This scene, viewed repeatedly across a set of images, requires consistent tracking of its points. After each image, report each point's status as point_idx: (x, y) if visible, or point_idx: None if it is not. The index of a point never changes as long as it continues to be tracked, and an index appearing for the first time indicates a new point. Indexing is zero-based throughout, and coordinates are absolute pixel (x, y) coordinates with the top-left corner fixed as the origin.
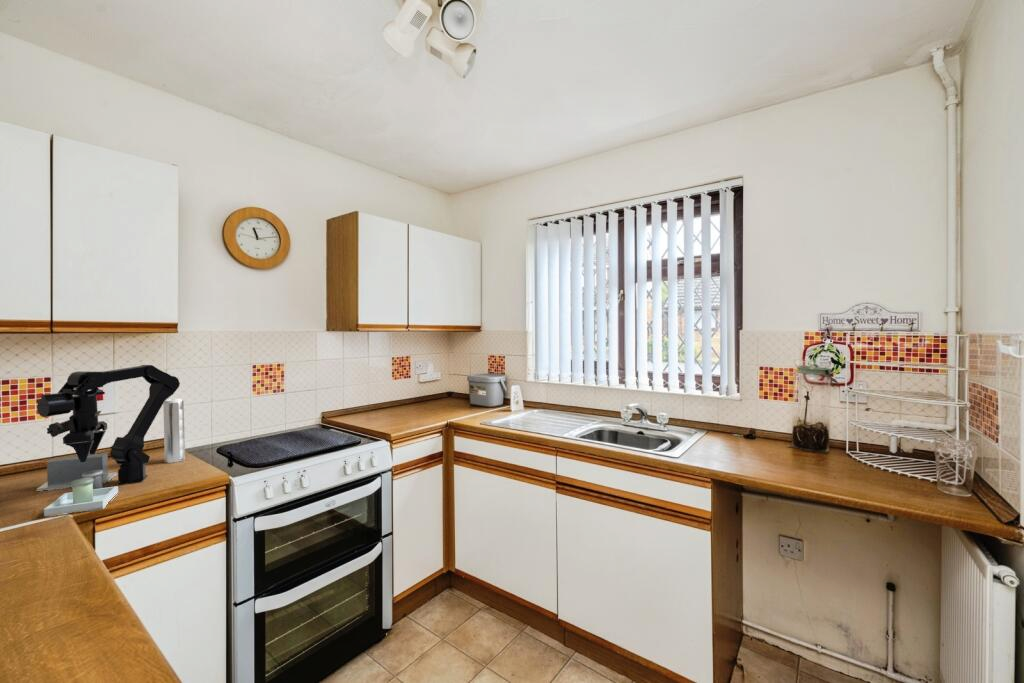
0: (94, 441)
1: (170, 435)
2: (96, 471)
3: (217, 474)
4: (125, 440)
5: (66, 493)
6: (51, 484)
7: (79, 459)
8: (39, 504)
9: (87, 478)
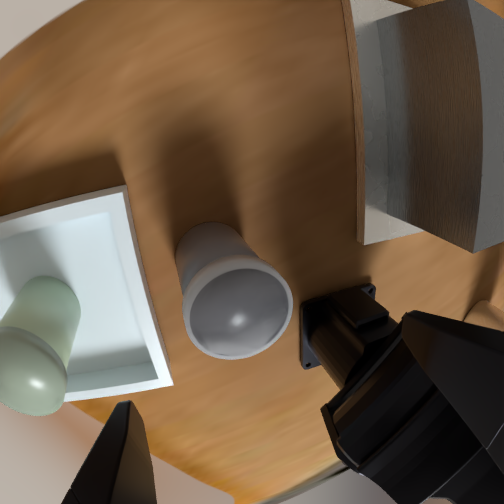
0: (488, 403)
1: None
2: (251, 330)
3: (276, 486)
4: (419, 487)
5: (111, 205)
6: (381, 30)
7: (105, 424)
8: (118, 81)
9: (49, 390)
